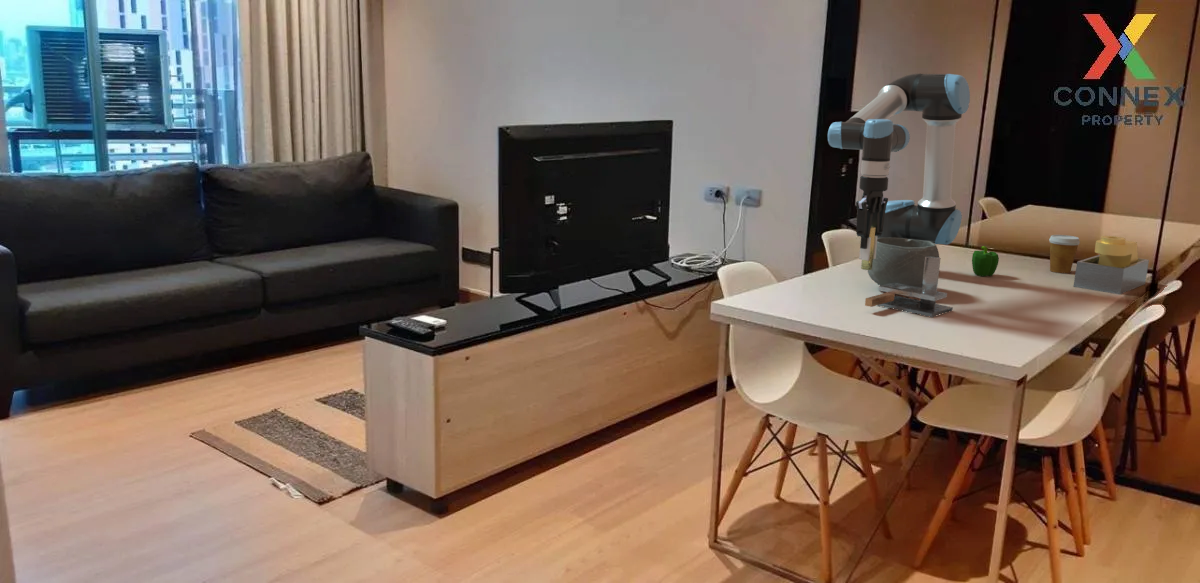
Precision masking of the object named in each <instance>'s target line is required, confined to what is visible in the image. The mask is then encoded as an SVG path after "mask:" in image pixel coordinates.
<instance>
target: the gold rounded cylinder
mask: <svg viewBox="0 0 1200 583" xmlns="http://www.w3.org/2000/svg"><path fill="white" fill-rule="evenodd" d="M875 229H876V227H873V226H871V229H870V236H869V237H871V245H870V256H869V260H868V261H867V260H861V267H860V269H861V270H865V271H868V270H872V264H873V252H874V241H875Z"/></svg>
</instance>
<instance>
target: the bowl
mask: <svg viewBox="0 0 1200 583" xmlns="http://www.w3.org/2000/svg"><path fill="white" fill-rule="evenodd" d="M939 252H940V251H939V249H938V246H937V244H934V243H932V242H931V241H923V240H914V239H905V238H892V237H885V238H877V248H876V259H873V264H872V270H867V274H868V276H869V277H870V279H871V280H872V281H873V282H874V283H875V284H877V285H879V286H881V285H885V284H889V283H893V282H894V283H899V284H904V285H909V286H914V287H920V288H922V281H923V272H924V262H925V257H926V256H934V257H939V258H940V253H939Z"/></svg>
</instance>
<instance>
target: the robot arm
mask: <svg viewBox="0 0 1200 583" xmlns="http://www.w3.org/2000/svg"><path fill="white" fill-rule="evenodd" d="M970 96H971V92H970V85H969V83H968V81H967V79H966V78H965V77H964V75H960V74H953V73H911V74H905V75H904V76H901V77H899V78H897V79H894V80H892V81H891V82H889V83H887V84H886V85H885V86H883V87H882V88H881V89H880V90H879V91H878V92H877V96H876V97H875V98H873V99H872V100H871V101H870V102H869V103H868V104H866V105H865V106H864V107H863V108H861V109H859V111H857V112H856V113H855V114H854V115H853V116H851V117H850V118H849V119H848V120H846V121H835V122H832V123H831V124H830V126H829V128H828V131H827V142H828V145H829V146H830V147H832V148H837V149H840V150H843V149H845V150H862V154H861V155H862V156H861V165H860V175H861V176H860V178H859V190H861V191H863V193H862V196H861V200H857V201H856V202H855V205H856V229H855V230H856V232H855V233H856V235H857V237H860V243H859V244H860V245H859V246H860V247H859V260H861V261H862V260H867V261H868V260H869V256H870V245H871V237H869V236H870V229H871V226H873V227H876V229H875V241H874V252H873V259H876V248H877V238H885V237H892V238H905V239H914V240H923V241H931V242H932V243H934V244H935V245H945V246H947V245H950V244H952V243H953V242H954V240H955V239H956V237H957V235H958V233H959V231H960V227H961V224H962V219H963V218H962V216H963V215H962V211H961V210H960V209H957V208H956V205H957V204H956V203H957V202H956V201H955V200H954V199H953V198H952V193H953V192H952V190H953V174H954V172H953V171H954V158H955V143H956V129H957V123H958V122H959V121H960V120H962V116H963V114H965V113H967V112H968V111H969V110H968V109H969V106H970V105H969V104H970V101H971V99H970V98H971V97H970ZM902 112H919V113H920V112H921V114H922V115H921V119H922V121H924V122H925V123H926V131H925V132H926V134H925V150H924V151H925V153H924V169H923V170H924V171H923V172H924V173H923V188H922V189H923V192H922V198H921V199H919V200H918V201H917V205H916V203H915V201H914V199H913V200H912V199H899V200H898V199H895V200H889V197H884V192H886V191H888V187H889V178H888V175H889V174H890V172H889V171H890V167H891V165H890V164H891V162H890V161H891V155H892V154H891V153H896V152H897V153H898V152H899V151H903V149H905V148H907V145H909V142H910V139H911V138H910V137H911V136H910V134H911V133H910V131H909V130H908V128H907V127H905V126H904V125H901V124H898V123H897V124H895V123H894V122H893V120H891V119H890V118H891V117H892V116H895V115H899V114H901V113H902Z"/></svg>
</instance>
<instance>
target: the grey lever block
mask: <svg viewBox="0 0 1200 583" xmlns="http://www.w3.org/2000/svg"><path fill="white" fill-rule="evenodd" d="M940 266H941V257H940V256H939V257H934V256H926V257H925V262H924V272H923V281H922V288H920V287H914V286H909V285H904V284H899V283H894V282H893V283H889V284H885V285H881V286H880V285H879V286H878V291H880V292H884V293H881V294H876V295H873V296H869V297H866V298H865V301H864V306H866V307H870V308H873V307H876V305H879V306H878V307H880V306H884V307H883V308H885V307H889V308H888V309H890V308H894V309H898V310H897V311H899V310H903V311H902V312H904V311H907V312H906V313H908V312H912V313H911V314H913V313H917V314H916V315H918V314H921V315H920V316H922V315H925V316H924V317H927V316H930V317H929V318H934V317H933V316H935V317H937V316H936V315H938V316H940V315H939V314H941V315H943V314H942V313H944V314H946V313H945V312H947V313H950V312H952V310H954V307H953V306H948V305H943V304H938V303H937V301H939V300H942V299H945V298H947V297H948V293H947V292H942V291H938V283H939V275H940ZM899 295H901V296H899ZM903 296H905V297H903ZM908 297H911V298H908ZM914 298H918V299H919V300H918V299H914ZM894 309H893V310H894ZM949 311H950V312H949Z"/></svg>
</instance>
